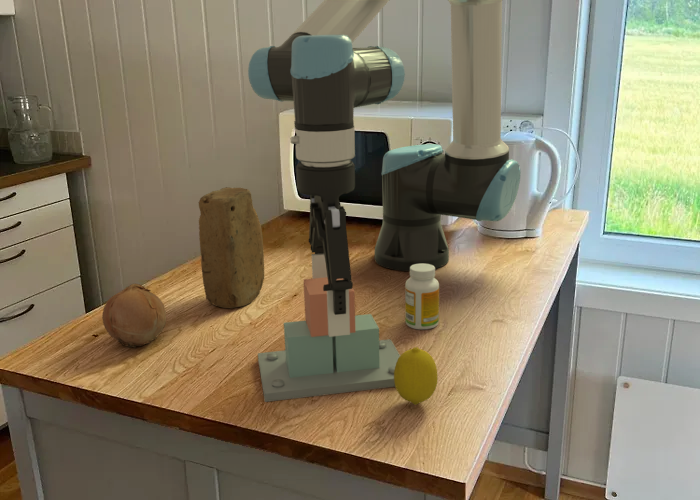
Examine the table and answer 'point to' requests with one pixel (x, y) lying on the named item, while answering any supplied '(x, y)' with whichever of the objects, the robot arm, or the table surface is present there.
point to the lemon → (415, 375)
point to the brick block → (322, 306)
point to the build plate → (326, 381)
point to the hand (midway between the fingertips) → (330, 314)
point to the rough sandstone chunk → (230, 247)
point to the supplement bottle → (422, 297)
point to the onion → (134, 316)
